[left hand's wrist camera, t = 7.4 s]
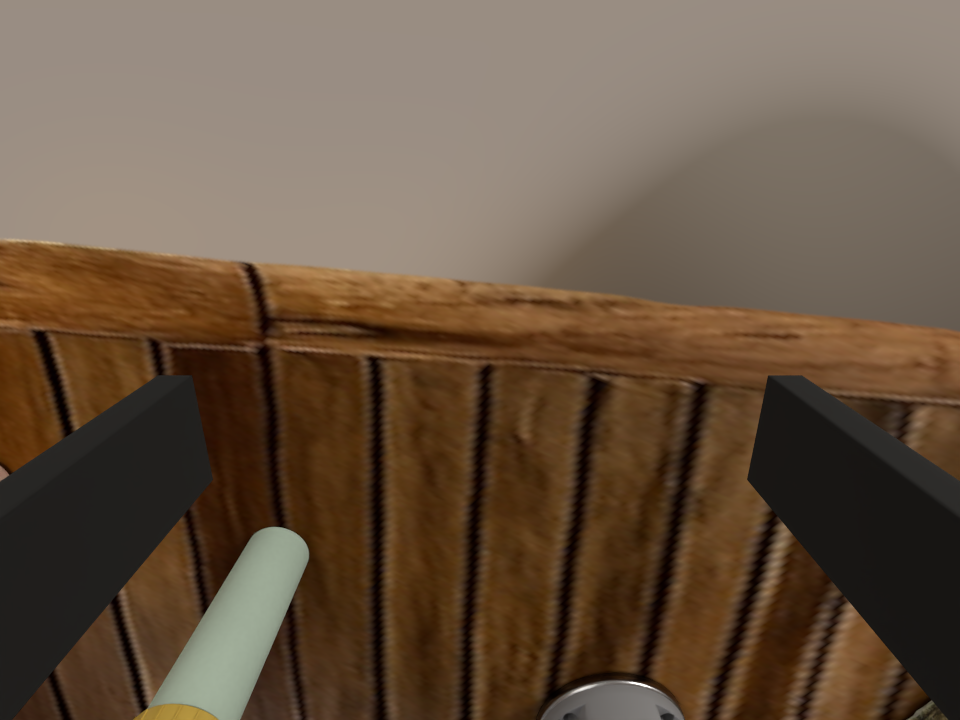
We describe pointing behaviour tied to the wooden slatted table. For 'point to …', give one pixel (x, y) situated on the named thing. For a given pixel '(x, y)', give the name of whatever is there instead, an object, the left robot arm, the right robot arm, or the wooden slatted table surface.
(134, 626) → the wooden slatted table surface
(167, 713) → the lid
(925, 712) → the fossil
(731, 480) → the wooden slatted table surface
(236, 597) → the pale green bottle
